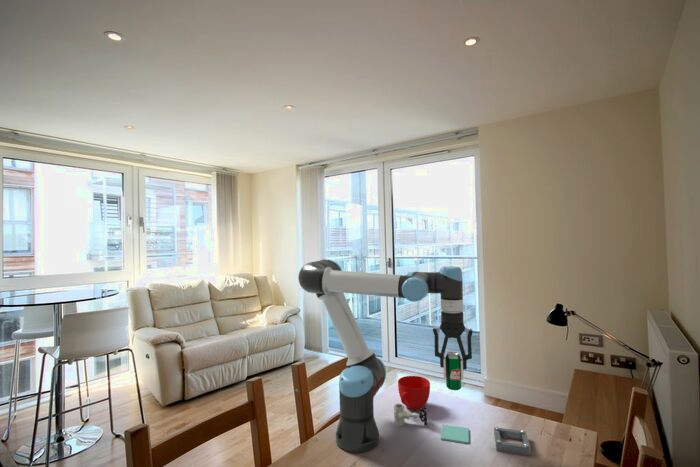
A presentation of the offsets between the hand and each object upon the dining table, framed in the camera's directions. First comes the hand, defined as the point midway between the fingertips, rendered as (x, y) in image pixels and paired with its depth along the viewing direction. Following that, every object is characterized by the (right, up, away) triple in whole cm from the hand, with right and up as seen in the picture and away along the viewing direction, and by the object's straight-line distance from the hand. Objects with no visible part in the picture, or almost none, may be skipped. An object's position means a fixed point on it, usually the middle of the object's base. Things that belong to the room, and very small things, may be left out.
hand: (453, 377), depth 125 cm
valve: (-14, -21, +8) cm, 26 cm away
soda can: (0, -4, 0) cm, 4 cm away
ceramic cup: (-11, -21, +20) cm, 30 cm away
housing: (+17, -20, -6) cm, 27 cm away
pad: (0, -20, 0) cm, 20 cm away
